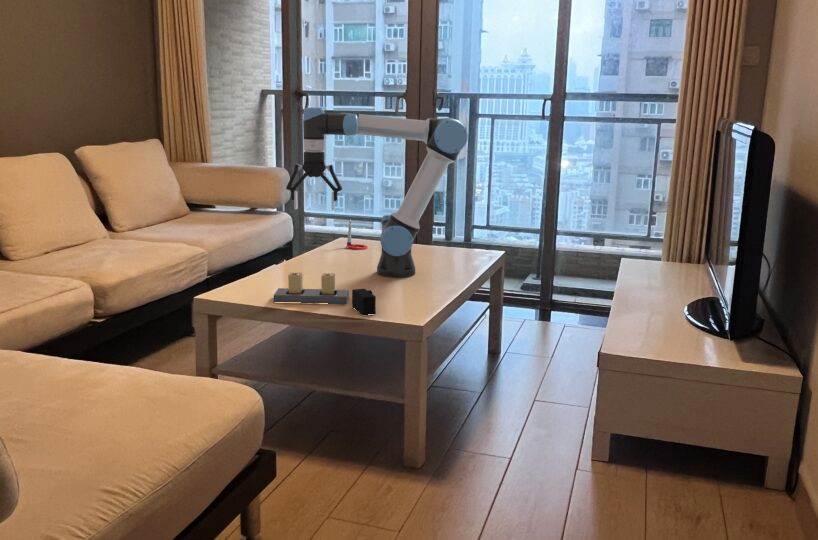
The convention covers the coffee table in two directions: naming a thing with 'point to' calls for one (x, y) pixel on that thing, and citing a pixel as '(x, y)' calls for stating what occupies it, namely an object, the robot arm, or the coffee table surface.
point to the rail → (311, 296)
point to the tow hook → (352, 246)
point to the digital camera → (364, 301)
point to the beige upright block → (328, 284)
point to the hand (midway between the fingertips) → (314, 209)
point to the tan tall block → (295, 283)
